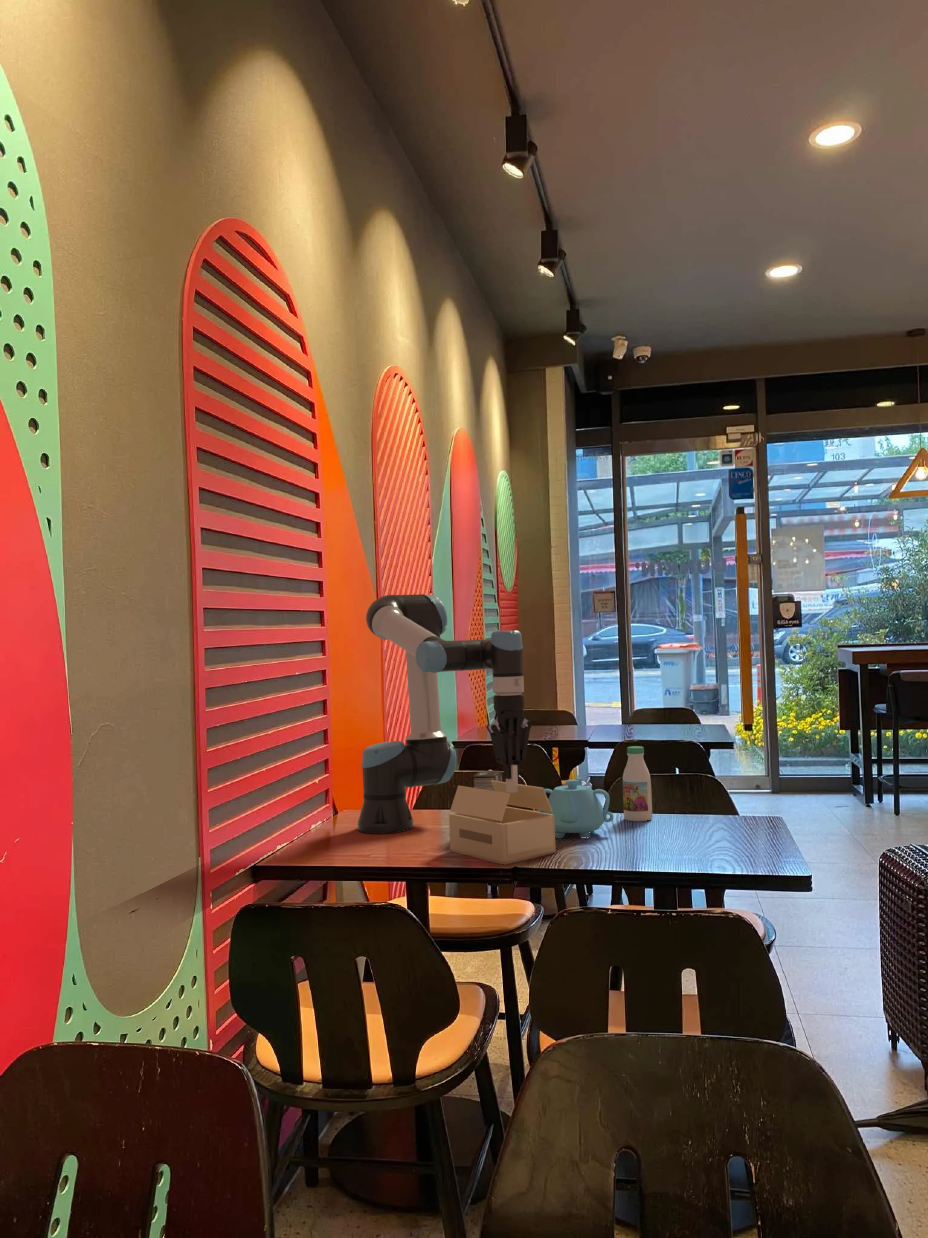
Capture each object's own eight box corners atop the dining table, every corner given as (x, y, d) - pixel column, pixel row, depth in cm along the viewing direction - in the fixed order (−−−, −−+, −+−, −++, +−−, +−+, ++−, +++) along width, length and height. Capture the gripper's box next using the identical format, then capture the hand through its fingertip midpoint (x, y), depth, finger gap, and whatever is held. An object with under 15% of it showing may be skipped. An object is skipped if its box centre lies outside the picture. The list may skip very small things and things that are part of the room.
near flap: (450, 811, 228) (458, 785, 230) (450, 811, 228) (459, 785, 230) (500, 821, 213) (509, 793, 215) (501, 821, 213) (510, 793, 215)
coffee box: (480, 831, 251) (478, 771, 252) (504, 831, 250) (502, 770, 251) (474, 838, 242) (472, 776, 243) (498, 838, 241) (496, 775, 242)
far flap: (500, 803, 238) (490, 781, 236) (500, 802, 238) (491, 780, 237) (551, 812, 223) (542, 788, 221) (552, 811, 223) (543, 787, 222)
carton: (449, 851, 229) (448, 814, 229) (500, 841, 238) (498, 805, 239) (504, 865, 212) (503, 824, 213) (556, 853, 222) (555, 815, 222)
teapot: (582, 825, 255) (580, 773, 256) (623, 837, 237) (620, 781, 238) (529, 832, 248) (527, 778, 249) (567, 845, 231) (565, 787, 231)
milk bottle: (631, 816, 266) (628, 745, 266) (657, 818, 261) (654, 745, 262) (619, 820, 260) (616, 747, 260) (645, 823, 255) (642, 748, 256)
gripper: (497, 696, 222) (501, 797, 221) (539, 692, 230) (542, 790, 229) (478, 695, 228) (481, 793, 227) (518, 692, 236) (522, 787, 235)
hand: (512, 791), depth 228 cm, fingers closed
